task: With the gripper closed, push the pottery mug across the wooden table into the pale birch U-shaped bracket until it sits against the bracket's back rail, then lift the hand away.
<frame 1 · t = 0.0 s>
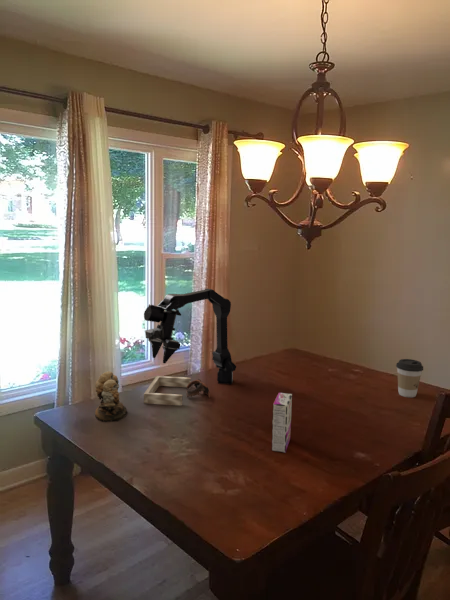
hand: (158, 360, 204), 15 cm above the table, tool pointing down, fingers open, 9 cm apart
candy bar box: (280, 445, 164), on the table
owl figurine: (111, 414, 186), on the table
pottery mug: (198, 396, 207), on the table
coffee cup: (407, 395, 216), on the table
birch bracket: (167, 394, 208), on the table
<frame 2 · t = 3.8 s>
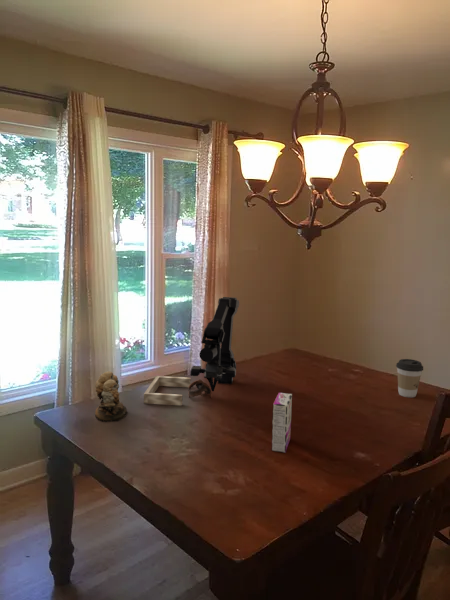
hand: (212, 391, 206), 3 cm above the table, tool pointing down, fingers closed
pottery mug: (200, 397, 207), on the table, touching gripper
everything else where it was.
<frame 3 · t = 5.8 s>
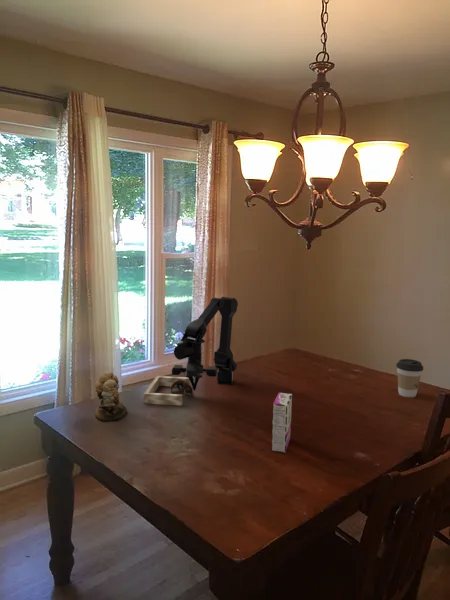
hand: (194, 390, 207), 3 cm above the table, tool pointing down, fingers closed
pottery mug: (181, 396, 206), on the table, touching gripper
everything else where it was.
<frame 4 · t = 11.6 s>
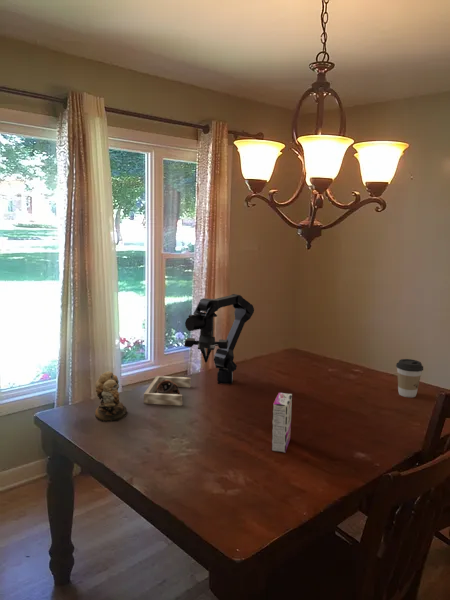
hand: (206, 362, 215), 12 cm above the table, tool pointing down, fingers closed
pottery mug: (167, 396, 206), on the table
everything else where it was.
at the end: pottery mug inside the target area (2.5 cm from its centre), on the table; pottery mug tilted 0°; the gripper is holding nothing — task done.
